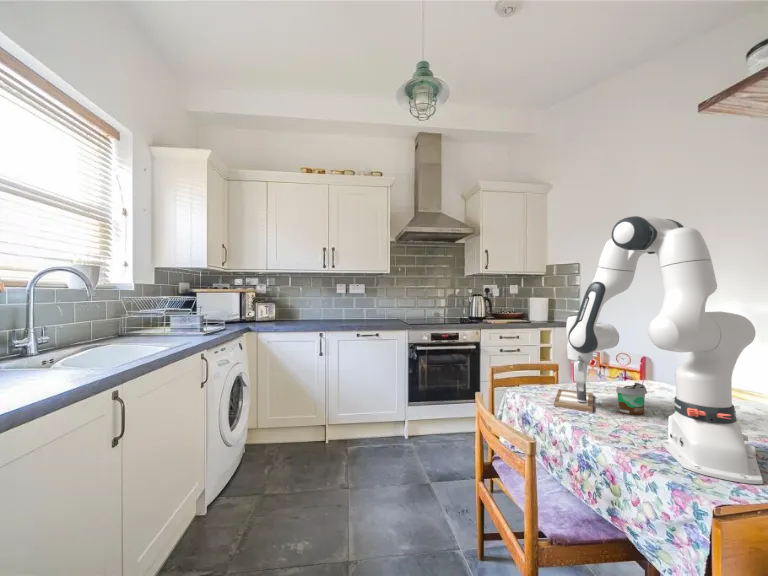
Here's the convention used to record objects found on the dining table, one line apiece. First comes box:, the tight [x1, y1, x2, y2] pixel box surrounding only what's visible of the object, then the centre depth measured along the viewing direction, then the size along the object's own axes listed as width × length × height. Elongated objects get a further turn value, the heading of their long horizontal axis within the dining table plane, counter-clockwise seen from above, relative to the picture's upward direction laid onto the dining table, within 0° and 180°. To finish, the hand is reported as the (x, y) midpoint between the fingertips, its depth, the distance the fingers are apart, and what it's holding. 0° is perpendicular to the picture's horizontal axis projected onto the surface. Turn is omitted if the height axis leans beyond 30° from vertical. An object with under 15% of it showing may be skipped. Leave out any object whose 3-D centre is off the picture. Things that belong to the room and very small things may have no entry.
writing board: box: [553, 388, 594, 413], centre depth 133 cm, size 22×13×1 cm, turn 147°
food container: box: [615, 382, 648, 417], centre depth 118 cm, size 12×6×10 cm, turn 114°
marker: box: [575, 370, 587, 402], centre depth 127 cm, size 3×3×12 cm
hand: (581, 389), depth 127 cm, fingers closed on marker, 3 cm apart
